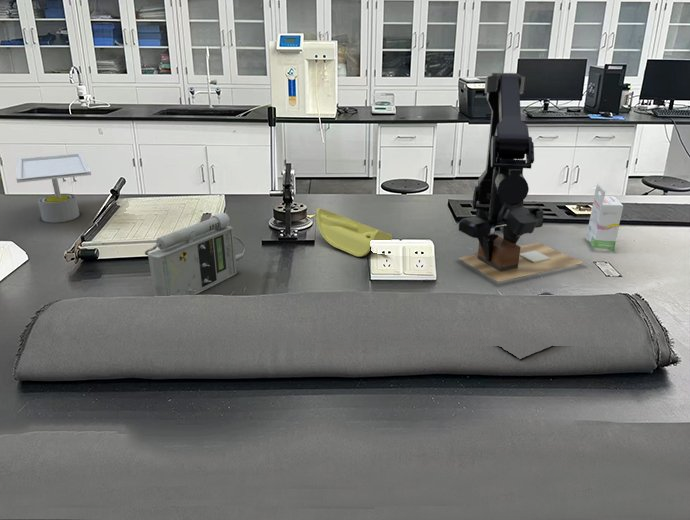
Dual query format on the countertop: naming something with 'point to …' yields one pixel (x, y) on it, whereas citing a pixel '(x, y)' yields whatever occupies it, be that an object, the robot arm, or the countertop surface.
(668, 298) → the countertop surface
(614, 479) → the countertop surface
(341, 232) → the plastic component
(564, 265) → the board
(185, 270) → the geiger counter
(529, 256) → the chalk patch
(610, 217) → the ink box
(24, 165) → the solar panel model
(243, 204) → the countertop surface
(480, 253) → the brown boxy piece
